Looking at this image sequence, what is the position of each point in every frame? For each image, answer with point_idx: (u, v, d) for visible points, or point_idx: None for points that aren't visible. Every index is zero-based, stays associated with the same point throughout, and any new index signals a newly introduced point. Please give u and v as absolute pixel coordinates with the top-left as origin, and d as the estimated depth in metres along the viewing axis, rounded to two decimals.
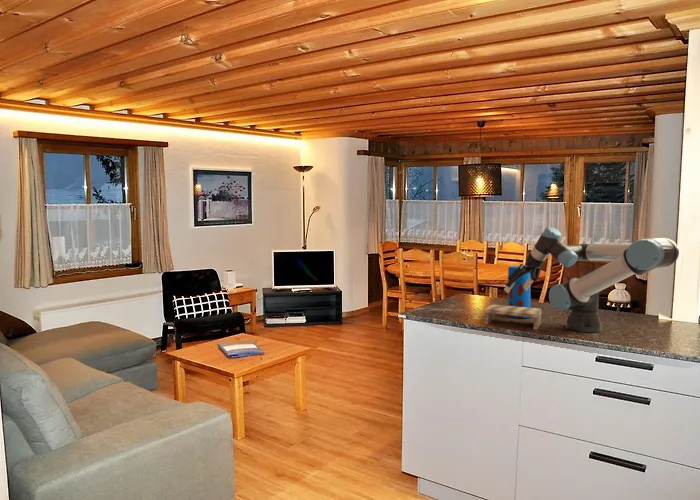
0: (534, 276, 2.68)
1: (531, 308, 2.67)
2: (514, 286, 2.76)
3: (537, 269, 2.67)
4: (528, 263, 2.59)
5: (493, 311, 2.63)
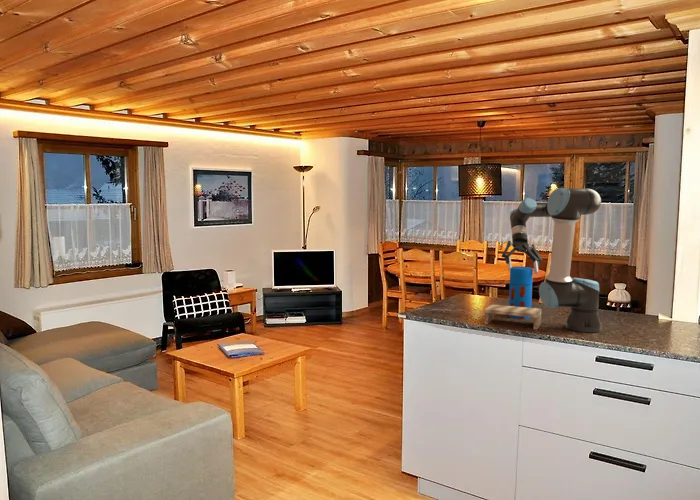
0: (534, 255, 2.77)
1: (531, 308, 2.67)
2: (516, 287, 2.75)
3: (533, 251, 2.80)
4: (513, 240, 2.82)
5: (493, 311, 2.63)
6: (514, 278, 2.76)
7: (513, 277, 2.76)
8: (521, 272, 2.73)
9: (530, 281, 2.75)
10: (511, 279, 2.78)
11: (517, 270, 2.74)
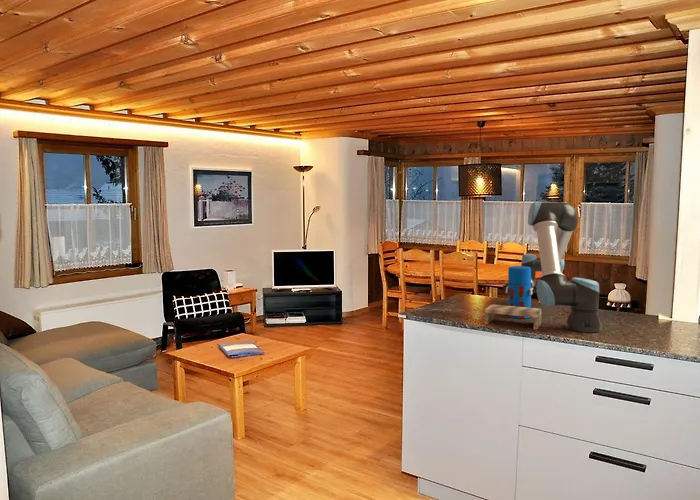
0: (532, 287, 2.82)
1: (531, 308, 2.67)
2: (515, 287, 2.75)
3: None
4: None
5: (493, 311, 2.63)
6: (513, 278, 2.76)
7: (512, 277, 2.76)
8: (519, 272, 2.73)
9: (529, 280, 2.75)
10: (509, 279, 2.78)
11: (515, 270, 2.74)
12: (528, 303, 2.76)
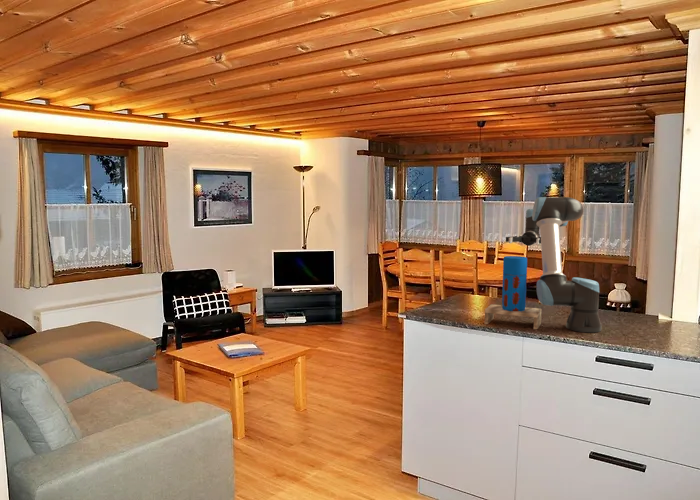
0: (537, 238, 2.88)
1: (531, 308, 2.67)
2: (510, 278, 2.60)
3: None
4: None
5: (493, 311, 2.63)
6: (508, 268, 2.60)
7: (507, 267, 2.61)
8: (515, 261, 2.58)
9: (524, 271, 2.59)
10: (504, 269, 2.62)
11: (511, 259, 2.59)
12: (523, 295, 2.60)
